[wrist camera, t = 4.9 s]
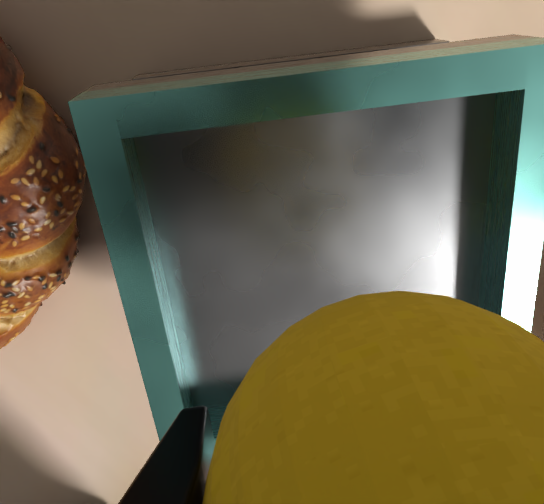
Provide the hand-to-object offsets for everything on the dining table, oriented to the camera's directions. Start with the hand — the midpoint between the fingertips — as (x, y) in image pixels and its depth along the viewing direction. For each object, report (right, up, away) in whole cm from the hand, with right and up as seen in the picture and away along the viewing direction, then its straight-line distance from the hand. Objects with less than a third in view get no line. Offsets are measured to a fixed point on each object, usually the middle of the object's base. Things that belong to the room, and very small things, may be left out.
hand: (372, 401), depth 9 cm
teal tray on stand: (-1, +4, +9) cm, 10 cm away
